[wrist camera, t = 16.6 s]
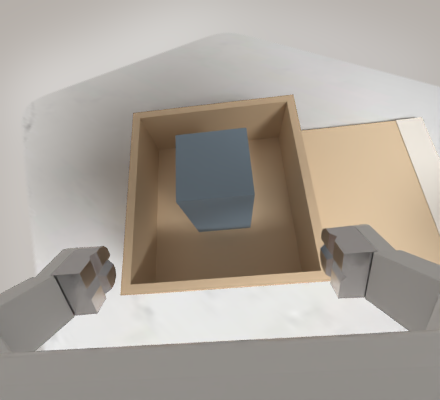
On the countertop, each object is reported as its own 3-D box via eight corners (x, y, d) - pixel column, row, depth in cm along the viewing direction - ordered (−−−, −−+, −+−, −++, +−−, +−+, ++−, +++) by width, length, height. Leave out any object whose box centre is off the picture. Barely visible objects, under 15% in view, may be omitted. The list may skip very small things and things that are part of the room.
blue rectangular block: (245, 180, 23) (246, 127, 15) (250, 227, 21) (254, 194, 14) (197, 185, 23) (175, 135, 15) (199, 232, 21) (175, 201, 14)
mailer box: (418, 120, 24) (466, 74, 19) (481, 270, 19) (570, 263, 14) (155, 148, 25) (133, 112, 20) (151, 293, 21) (120, 295, 15)
